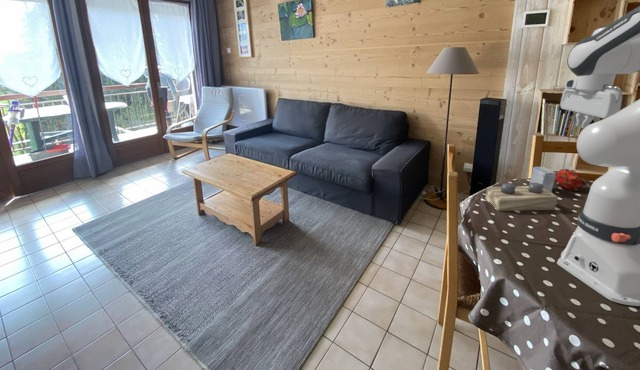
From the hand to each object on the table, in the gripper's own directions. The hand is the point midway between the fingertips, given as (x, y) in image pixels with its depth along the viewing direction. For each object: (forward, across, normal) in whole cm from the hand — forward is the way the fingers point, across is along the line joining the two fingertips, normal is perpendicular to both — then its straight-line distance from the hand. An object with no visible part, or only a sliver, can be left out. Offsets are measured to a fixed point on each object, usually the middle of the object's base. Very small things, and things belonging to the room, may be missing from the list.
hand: (581, 127), depth 105 cm
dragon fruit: (+29, +17, -15) cm, 37 cm away
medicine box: (+29, +16, -3) cm, 34 cm away
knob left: (+29, +3, +18) cm, 34 cm away
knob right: (+29, +3, +8) cm, 30 cm away
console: (+29, +3, +13) cm, 32 cm away
